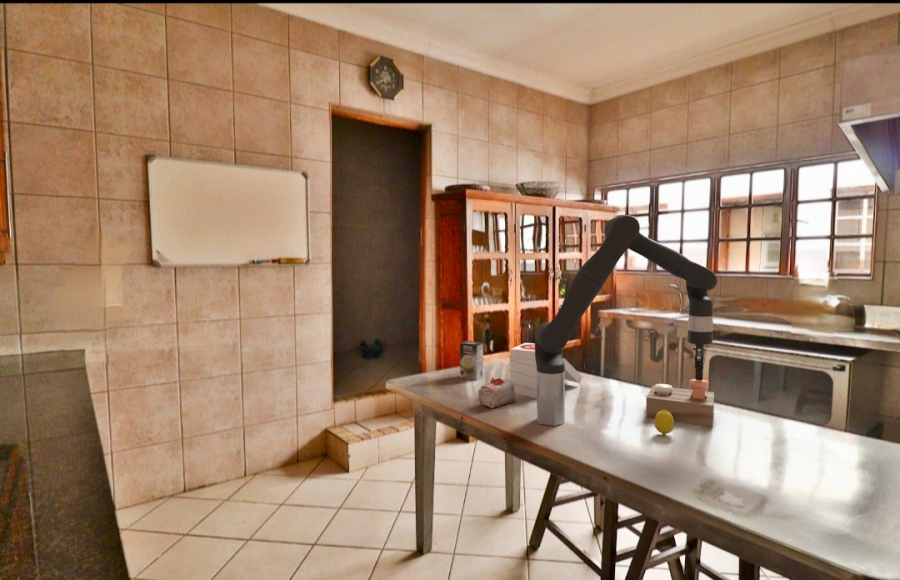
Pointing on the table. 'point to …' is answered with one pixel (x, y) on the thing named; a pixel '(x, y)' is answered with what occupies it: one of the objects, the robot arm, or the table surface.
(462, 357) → the coffee box
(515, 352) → the pizza boxes
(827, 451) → the table surface
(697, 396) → the terracotta plunger
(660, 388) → the white rounded piece
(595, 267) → the robot arm
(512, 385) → the food item
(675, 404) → the walnut block
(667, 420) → the lemon
